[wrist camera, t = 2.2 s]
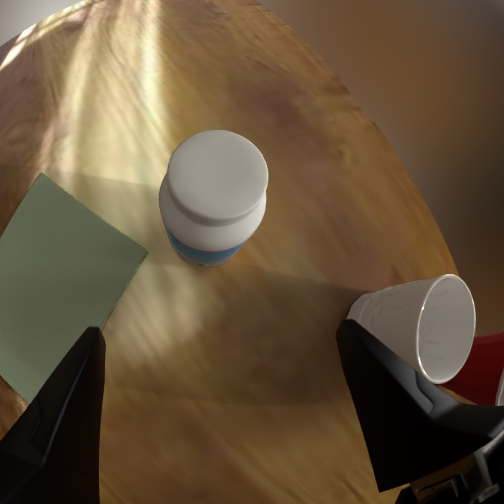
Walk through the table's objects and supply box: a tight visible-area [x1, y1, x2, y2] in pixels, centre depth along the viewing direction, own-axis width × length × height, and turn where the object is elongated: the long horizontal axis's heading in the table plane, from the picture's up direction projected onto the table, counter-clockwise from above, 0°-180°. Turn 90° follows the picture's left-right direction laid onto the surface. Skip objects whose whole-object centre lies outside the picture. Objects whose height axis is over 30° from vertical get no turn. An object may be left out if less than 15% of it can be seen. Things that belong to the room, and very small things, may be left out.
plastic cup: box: [440, 332, 504, 406], centre depth 20 cm, size 11×11×12 cm
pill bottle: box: [159, 130, 268, 268], centre depth 17 cm, size 6×6×11 cm
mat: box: [0, 172, 148, 404], centre depth 18 cm, size 19×14×1 cm
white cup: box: [346, 274, 475, 384], centre depth 20 cm, size 8×8×10 cm
